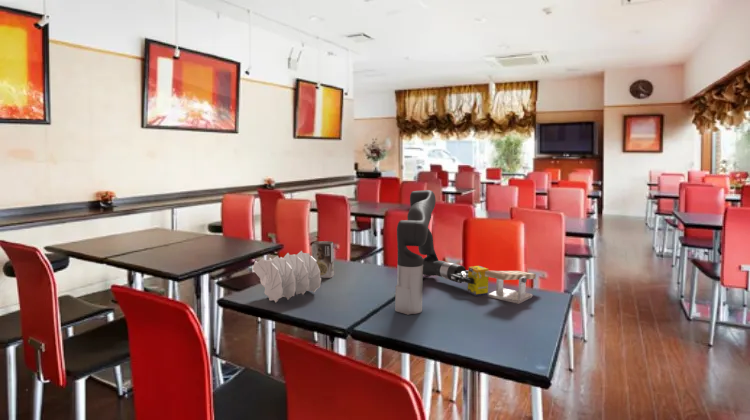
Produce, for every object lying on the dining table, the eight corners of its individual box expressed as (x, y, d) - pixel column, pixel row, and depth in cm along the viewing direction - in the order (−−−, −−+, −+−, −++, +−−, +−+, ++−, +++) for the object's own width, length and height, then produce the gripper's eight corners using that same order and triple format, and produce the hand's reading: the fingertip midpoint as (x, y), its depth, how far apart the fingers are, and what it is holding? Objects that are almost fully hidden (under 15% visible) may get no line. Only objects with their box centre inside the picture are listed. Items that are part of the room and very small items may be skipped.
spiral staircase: (320, 302, 193) (269, 313, 175) (297, 277, 203) (246, 285, 185) (334, 265, 187) (282, 274, 168) (309, 241, 197) (258, 247, 179)
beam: (503, 280, 174) (504, 274, 174) (484, 276, 179) (485, 270, 179) (535, 278, 194) (535, 273, 194) (517, 275, 200) (518, 270, 200)
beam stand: (518, 303, 179) (519, 281, 178) (488, 296, 188) (489, 275, 187) (532, 297, 188) (533, 275, 187) (502, 290, 197) (503, 269, 196)
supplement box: (467, 292, 194) (468, 266, 193) (479, 290, 196) (479, 265, 195) (476, 296, 188) (476, 270, 187) (488, 294, 191) (488, 268, 190)
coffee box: (334, 274, 222) (334, 241, 220) (331, 278, 215) (331, 243, 213) (315, 274, 223) (315, 240, 221) (312, 277, 216) (311, 243, 214)
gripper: (440, 265, 199) (468, 273, 186) (464, 261, 207) (492, 268, 194) (440, 282, 200) (468, 291, 187) (464, 278, 208) (492, 286, 195)
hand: (480, 280), depth 190 cm, fingers open, 8 cm apart
